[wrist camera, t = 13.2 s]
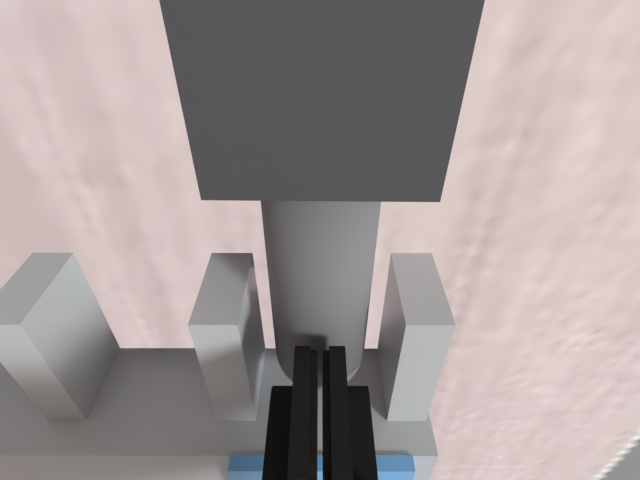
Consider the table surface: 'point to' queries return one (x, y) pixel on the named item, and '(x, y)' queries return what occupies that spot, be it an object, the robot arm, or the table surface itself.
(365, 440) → the robot arm
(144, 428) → the four peg comb
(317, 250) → the grey cube mallet
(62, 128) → the table surface
